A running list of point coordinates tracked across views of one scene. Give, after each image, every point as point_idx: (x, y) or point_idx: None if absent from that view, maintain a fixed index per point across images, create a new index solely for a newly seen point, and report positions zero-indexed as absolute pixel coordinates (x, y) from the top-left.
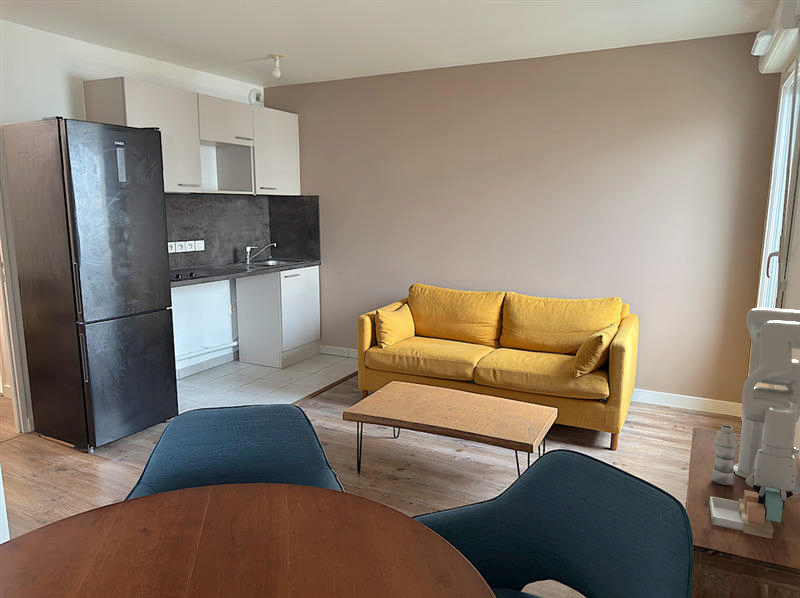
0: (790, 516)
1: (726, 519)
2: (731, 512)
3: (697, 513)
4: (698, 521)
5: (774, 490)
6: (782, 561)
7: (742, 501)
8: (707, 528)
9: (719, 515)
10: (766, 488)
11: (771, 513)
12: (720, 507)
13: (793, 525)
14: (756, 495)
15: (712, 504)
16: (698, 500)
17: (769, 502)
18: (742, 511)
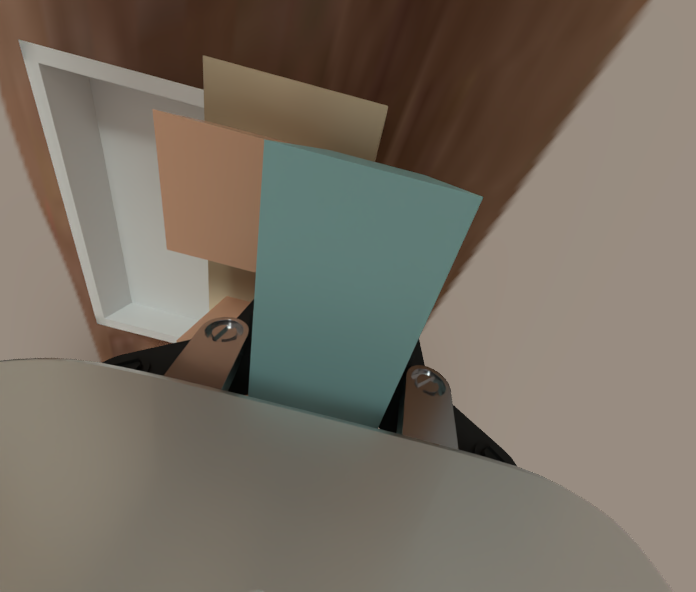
0: (542, 128)
1: (149, 336)
2: None
3: (60, 218)
4: (81, 289)
5: (353, 384)
6: None
7: (226, 114)
8: (119, 331)
9: (144, 233)
10: (276, 351)
11: None
12: (140, 128)
13: (478, 247)
14: (253, 232)
15: (68, 193)
16: (15, 21)
17: None
18: (212, 272)
